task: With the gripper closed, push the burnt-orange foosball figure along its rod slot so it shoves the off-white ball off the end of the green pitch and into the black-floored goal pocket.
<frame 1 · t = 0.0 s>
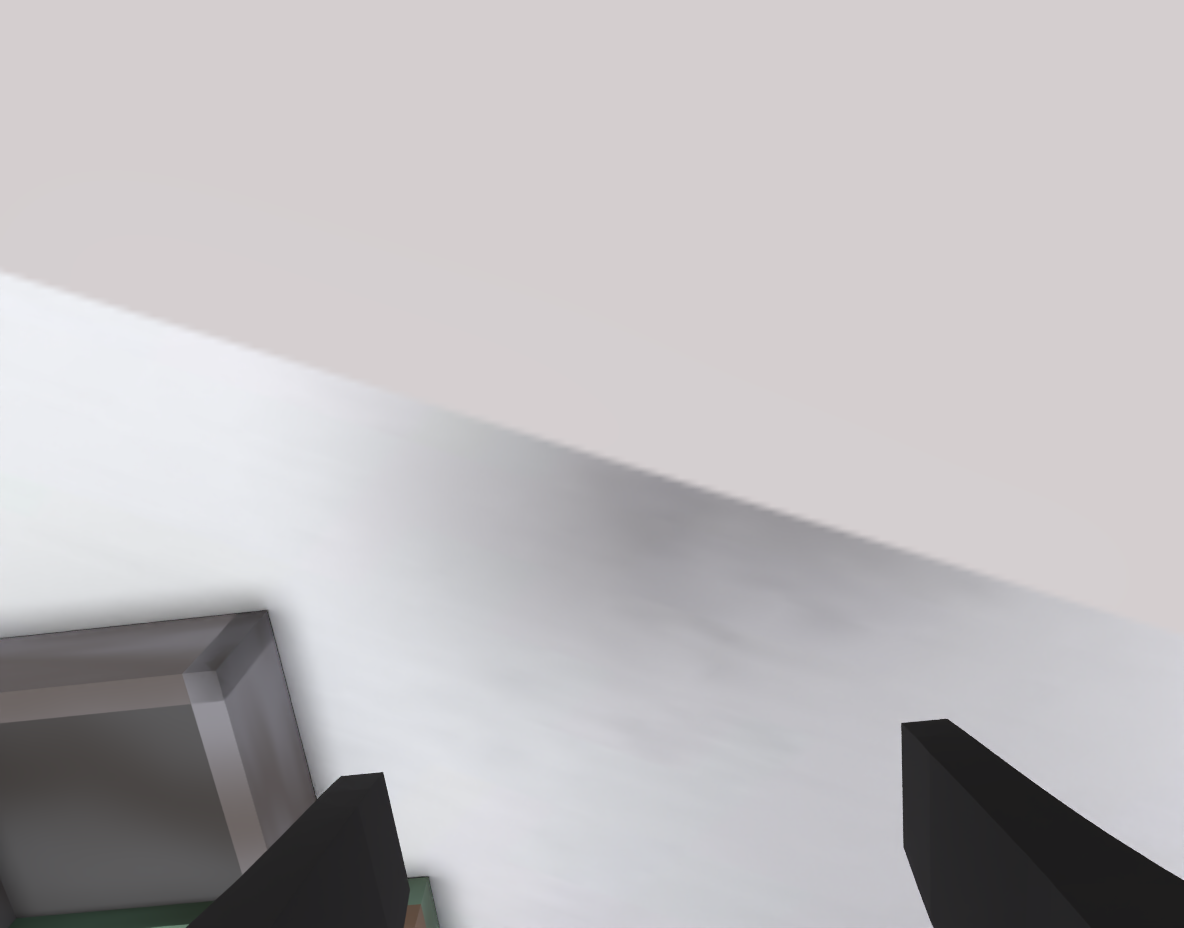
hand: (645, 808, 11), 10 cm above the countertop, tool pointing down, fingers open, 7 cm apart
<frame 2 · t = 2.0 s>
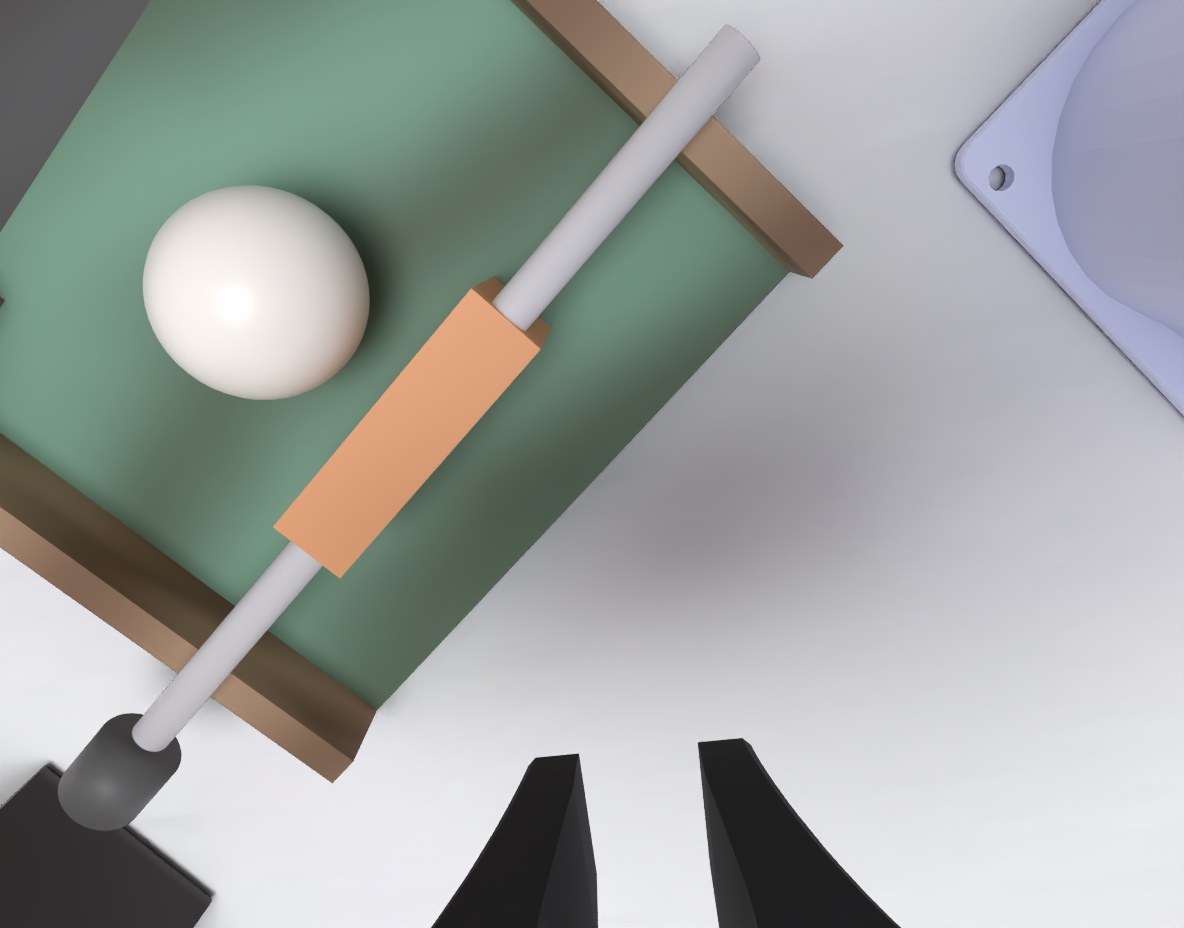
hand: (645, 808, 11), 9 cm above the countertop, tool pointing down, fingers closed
kicker: (386, 459, 17), point 3 cm above the countertop, slide at 0.0 cm
phone stand: (42, 907, 24), on the countertop
pitch: (188, 177, 18), on the countertop
ball: (261, 295, 16), point 3 cm above the countertop, touching pitch
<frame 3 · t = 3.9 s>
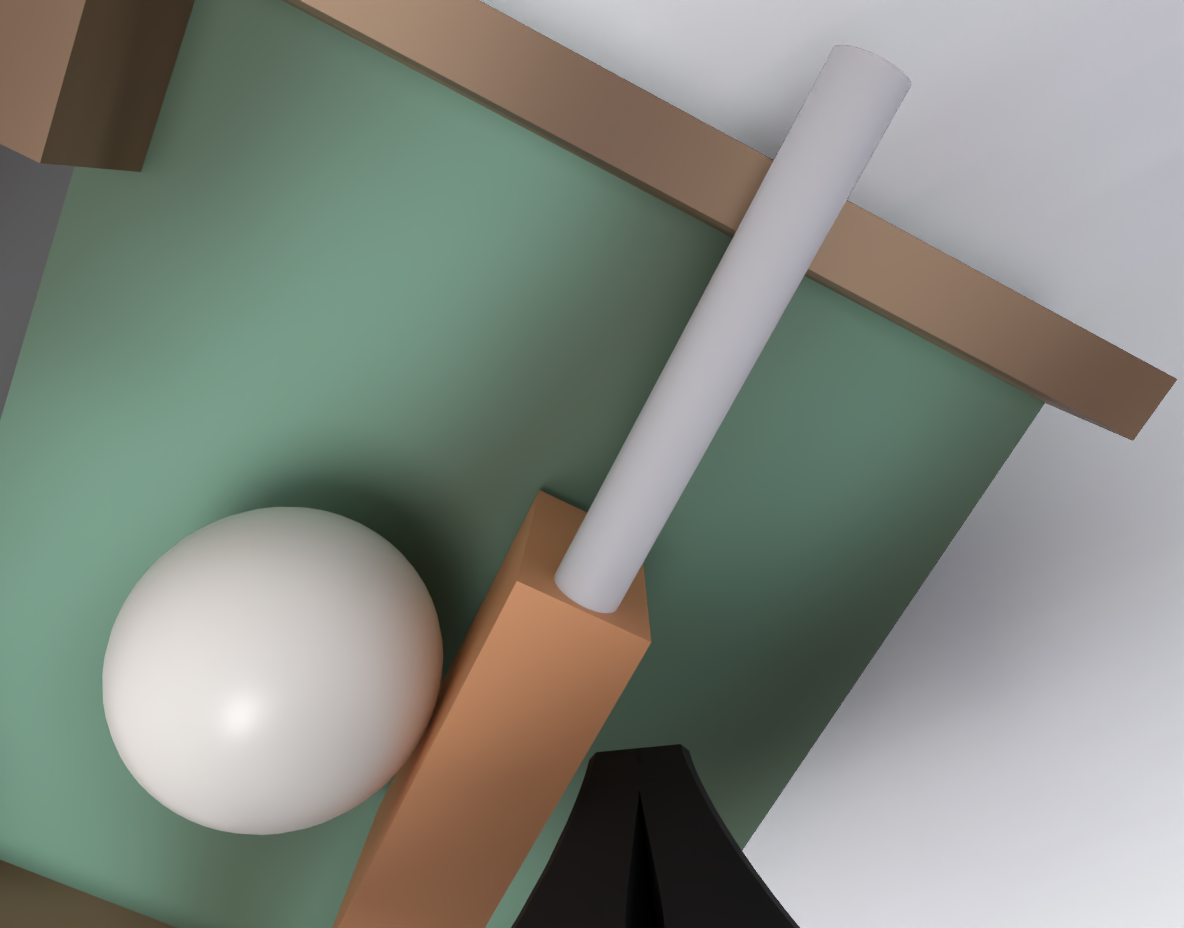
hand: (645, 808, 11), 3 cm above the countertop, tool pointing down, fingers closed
kicker: (455, 806, 11), point 3 cm above the countertop, slide at 1.1 cm, touching gripper
pitch: (162, 481, 13), on the countertop
ball: (284, 663, 11), point 3 cm above the countertop, touching pitch
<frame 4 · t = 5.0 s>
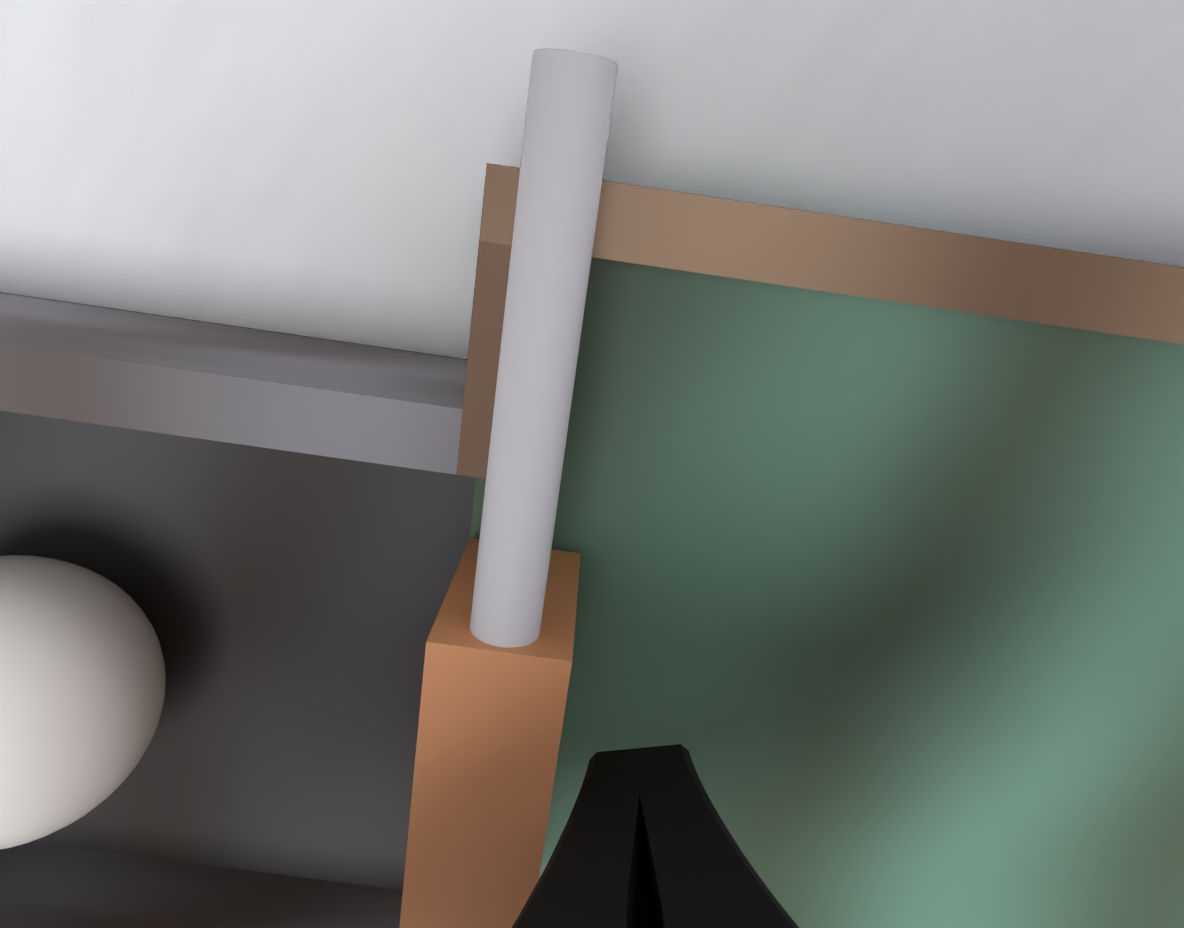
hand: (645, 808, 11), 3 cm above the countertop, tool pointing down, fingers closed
kicker: (479, 859, 11), point 3 cm above the countertop, slide at 8.4 cm, touching gripper
pitch: (579, 688, 14), on the countertop
ball: (6, 697, 12), point 2 cm above the countertop, tilted 22°, touching pitch
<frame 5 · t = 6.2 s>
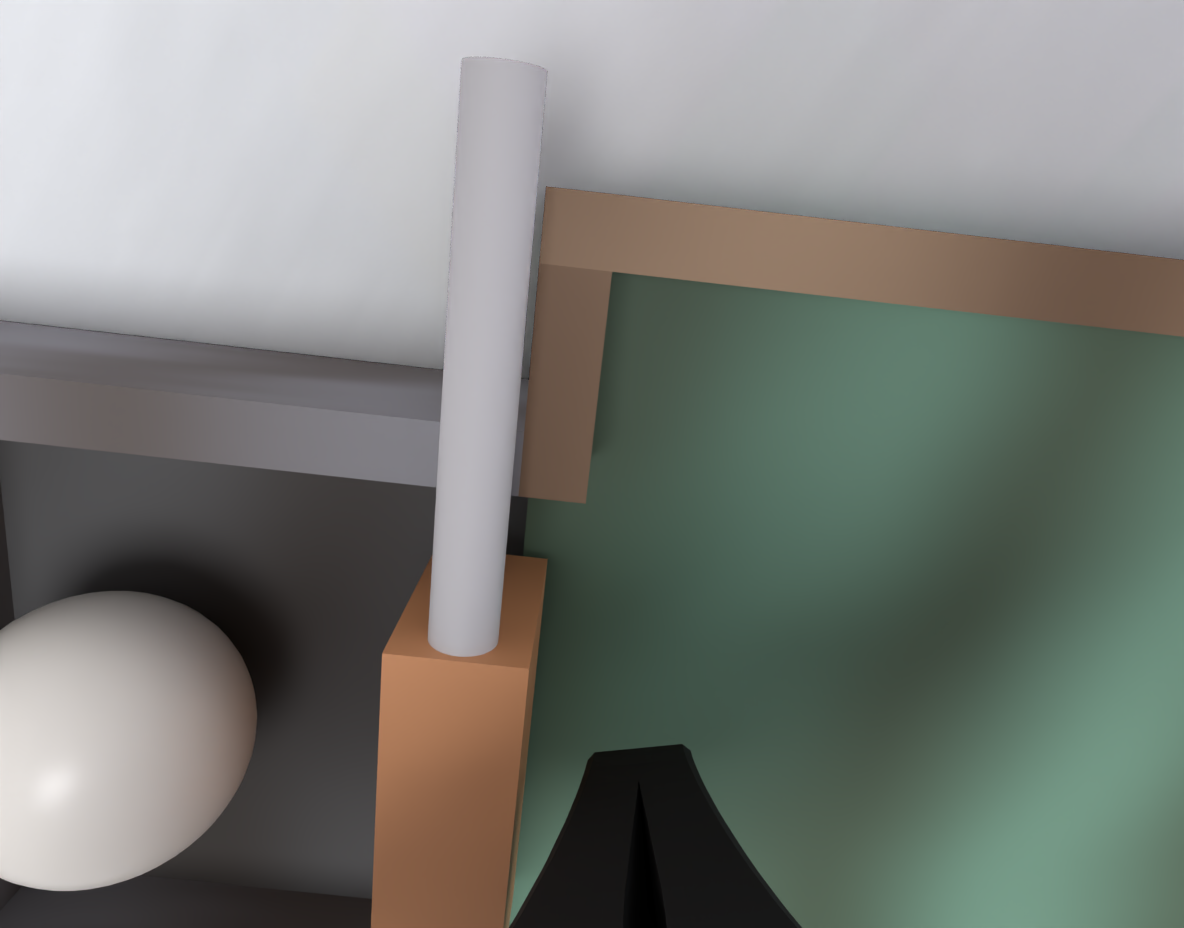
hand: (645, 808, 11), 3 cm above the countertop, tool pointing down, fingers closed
kicker: (454, 869, 11), point 3 cm above the countertop, slide at 9.6 cm
pitch: (631, 701, 14), on the countertop
ball: (105, 732, 12), point 2 cm above the countertop, tilted 37°, touching pitch
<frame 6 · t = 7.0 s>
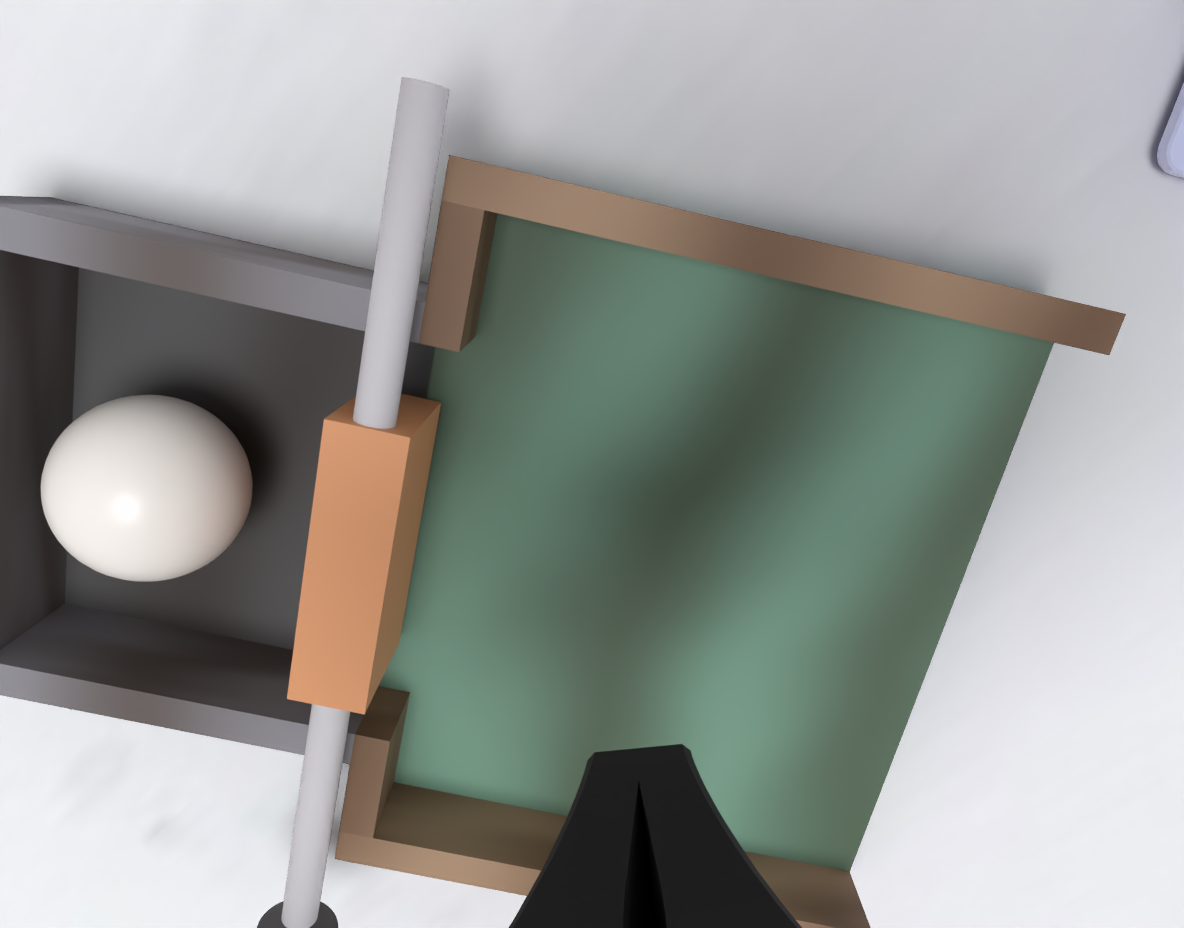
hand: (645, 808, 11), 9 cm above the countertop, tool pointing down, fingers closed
kicker: (357, 591, 18), point 3 cm above the countertop, slide at 9.6 cm
pitch: (496, 522, 20), on the countertop
ball: (152, 487, 18), point 2 cm above the countertop, tilted 47°, touching pitch
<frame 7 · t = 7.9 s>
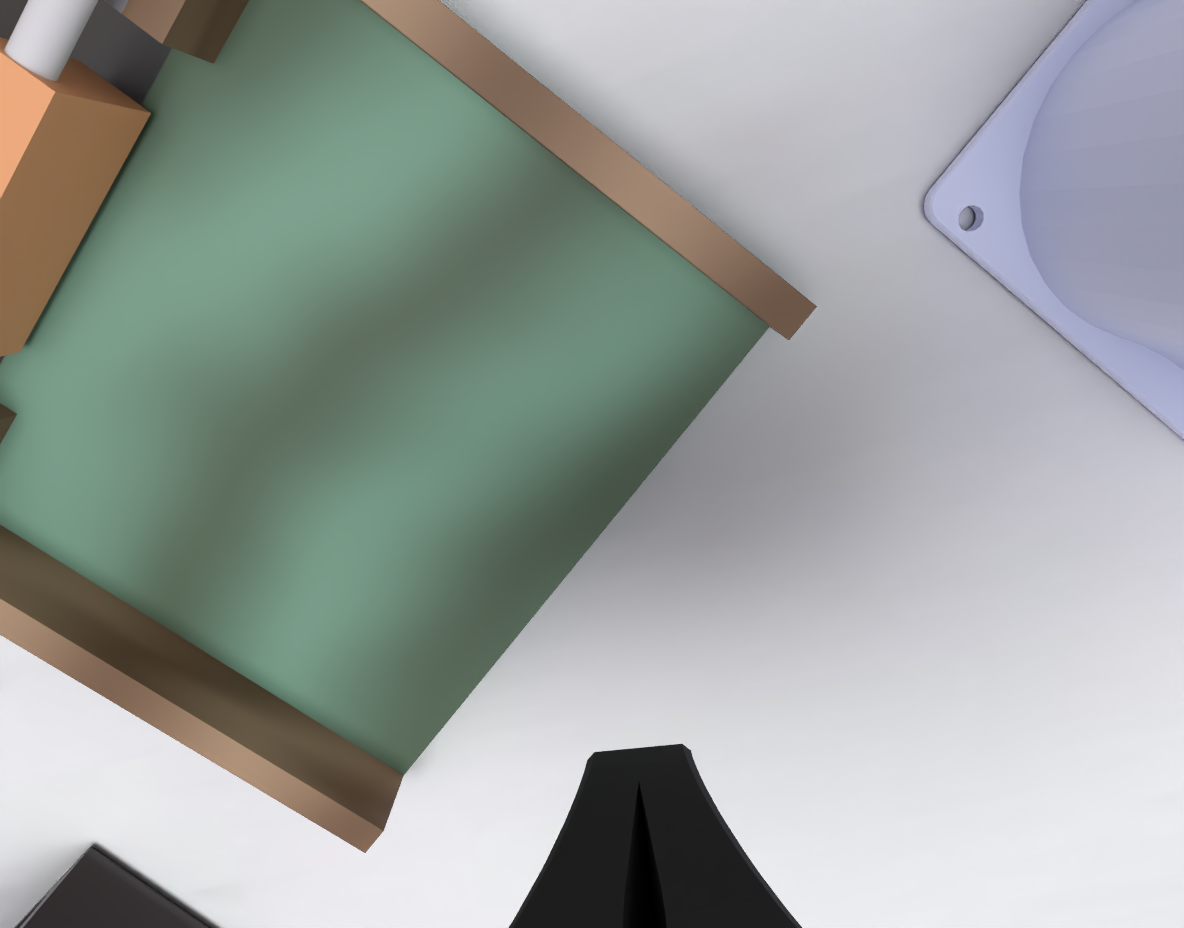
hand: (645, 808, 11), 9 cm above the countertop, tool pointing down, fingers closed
pitch: (182, 280, 19), on the countertop
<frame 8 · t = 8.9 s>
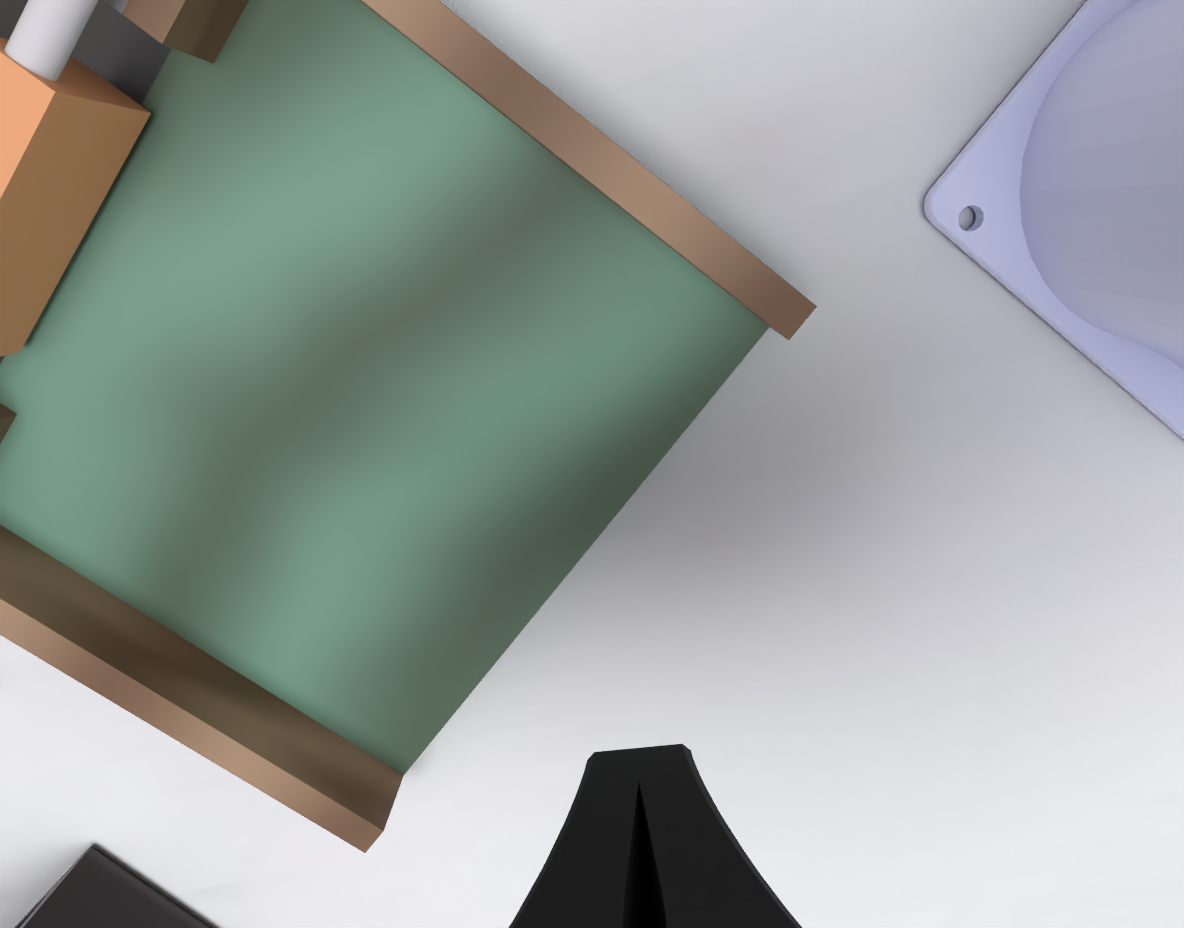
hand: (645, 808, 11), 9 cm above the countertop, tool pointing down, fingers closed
pitch: (182, 280, 19), on the countertop
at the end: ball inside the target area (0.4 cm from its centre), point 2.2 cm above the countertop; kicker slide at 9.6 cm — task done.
